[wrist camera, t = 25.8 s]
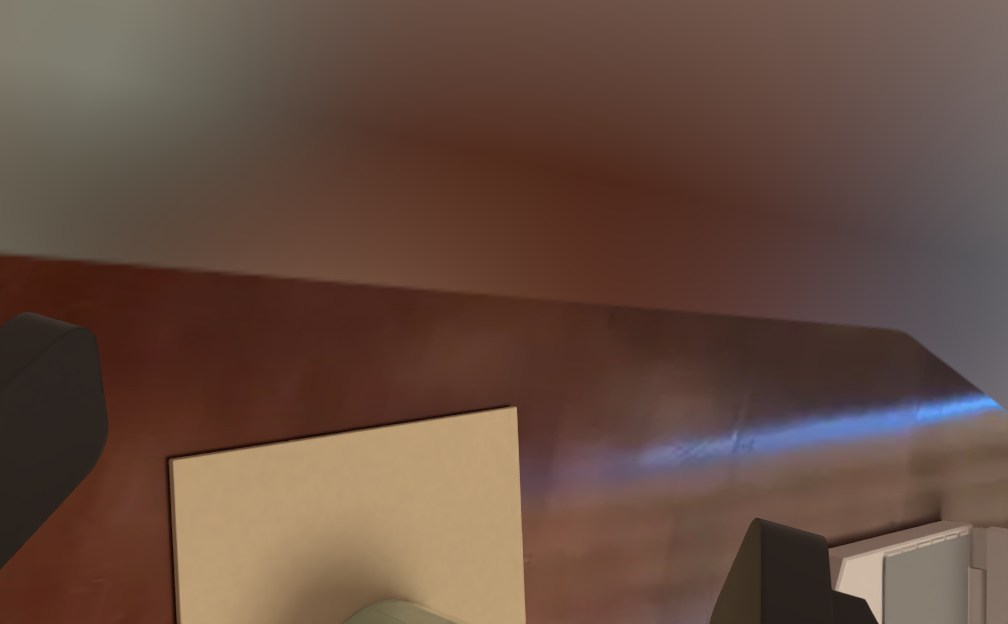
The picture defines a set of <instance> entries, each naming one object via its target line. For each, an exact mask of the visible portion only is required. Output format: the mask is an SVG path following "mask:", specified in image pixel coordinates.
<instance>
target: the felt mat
mask: <svg viewBox="0 0 1008 624" xmlns="http://www.w3.org/2000/svg"><path fill="white" fill-rule="evenodd" d="M169 474H170V494H171V514H172V535H173V555H174V575H175V596H176V616H177V624H344V623H345V622H346V621H347V620H348V619H349V618H350V617H351V616H352V615H354V614H355V613H357V612H358V611H360V610H361V609H363V608H365V607H367V606H368V605H371V604H373V603H376V602H379V601H383V600H388V599H401V600H406V601H410V602H413V603H415V604H420V605H424V606H427V607H429V608H432V609H434V610H437V611H439V612H442V613H445V614H447V615H450V616H452V617H455V618H457V619H460V620H462V621H465V622H468V623H470V624H526V620H525V596H524V572H523V548H522V524H521V499H520V475H519V451H518V427H517V407H505V408H498V409H492V410H485V411H479V412H472V413H466V414H459V415H453V416H446V417H440V418H433V419H427V420H420V421H414V422H407V423H401V424H394V425H388V426H381V427H375V428H368V429H362V430H355V431H349V432H342V433H336V434H329V435H323V436H316V437H310V438H303V439H297V440H290V441H284V442H277V443H271V444H264V445H258V446H251V447H245V448H238V449H232V450H225V451H219V452H212V453H206V454H199V455H193V456H186V457H180V458H173V459H169Z"/></svg>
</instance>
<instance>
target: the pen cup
mask: <svg viewBox="0 0 1008 624" xmlns="http://www.w3.org/2000/svg"><path fill="white" fill-rule="evenodd" d="M344 624H470V623H468V622H465V621H462V620H460V619H457V618H455V617H452V616H450V615H447V614H445V613H442V612H439V611H437V610H434V609H432V608H429V607H427V606H424V605H420V604H415V603H413V602H410V601H406V600H401V599H388V600H383V601H379V602H376V603H373V604H371V605H368V606H367V607H365V608H363V609H361V610H360V611H358V612H357V613H355V614H354V615H352V616H351V617H350V618H349V619H348V620H347V621H346V622H345V623H344Z"/></svg>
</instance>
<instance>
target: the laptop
mask: <svg viewBox="0 0 1008 624" xmlns="http://www.w3.org/2000/svg"><path fill="white" fill-rule="evenodd" d="M828 550H829V561H830V574H831V586H832V590H835V591H839V592H842V593H846V594H849V595H853V596H856V597H860V598H863V599H865V600H866V602H867V603H868V605H869V607H870V609H871V611H872V612H873V614H874V616H875V618H876V620H877V621H878V623H879V624H1008V529H1005V528H999V527H990V528H987V529H986V528H973V526H972V525H971V524H967V523H960V522H954V521H948V520H942V521H938V522H934V523H930V524H926V525H922V526H918V527H914V528H910V529H906V530H902V531H898V532H894V533H890V534H886V535H882V536H878V537H874V538H870V539H866V540H862V541H858V542H854V543H850V544H846V545H842V546H838V547H834V548H830V549H828Z"/></svg>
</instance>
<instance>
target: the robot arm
mask: <svg viewBox="0 0 1008 624" xmlns="http://www.w3.org/2000/svg"><path fill="white" fill-rule="evenodd" d="M107 433H108V418H107V411H106V404H105V397H104V390H103V382H102V375H101V368H100V361H99V354H98V347H97V342H96V338H95V336H94V334H93V333H92V332H91V331H90V330H89V329H87V328H84V327H81V326H77V325H74V324H70V323H67V322H63V321H59V320H56V319H52V318H49V317H45V316H41V315H38V314H34V313H28V312H26V313H21V314H19V315H16V316H15V317H13V318H12V319H10V320H9V321H8V322H6V323H5V324H4V325H2V326H1V327H0V569H1V568H2V567H3V566H4V565H5V564H6V563H7V562H8V561H9V560H10V559H11V557H12V556H13V555H14V554H15V553H16V552H17V551H18V550H19V549H20V548H21V547H22V546H23V544H24V543H25V542H26V541H27V540H28V539H29V538H30V537H31V536H32V535H33V534H34V533H35V531H36V530H37V529H38V528H39V527H40V526H41V525H42V524H43V523H44V522H45V521H46V519H47V518H48V517H49V516H50V515H51V514H52V513H53V512H54V511H55V510H56V509H57V508H58V506H59V505H60V504H61V503H62V502H63V501H64V500H65V499H66V498H67V497H68V496H69V495H70V493H71V492H72V491H73V490H74V489H75V488H76V487H77V486H78V485H79V484H80V483H81V482H82V480H83V479H84V478H85V477H86V476H87V475H88V474H89V473H90V471H91V470H92V469H93V468H94V466H95V465H96V463H97V461H98V459H99V458H100V456H101V453H102V451H103V448H104V446H105V442H106V439H107ZM710 624H879V623H878V621H877V620H876V618H875V616H874V614H873V612H872V611H871V609H870V607H869V605H868V603H867V602H866V600H865V599H863V598H860V597H856V596H853V595H849V594H846V593H842V592H839V591H835V590H832V586H831V574H830V561H829V550H828V544H827V541H826V539H825V538H824V537H823V536H820V535H817V534H813V533H810V532H806V531H803V530H799V529H795V528H792V527H788V526H785V525H781V524H778V523H774V522H770V521H767V520H763V519H760V518H755V519H754V520H753V521H752V523H751V525H750V526H749V528H748V531H747V533H746V535H745V537H744V540H743V542H742V544H741V547H740V549H739V551H738V553H737V556H736V558H735V560H734V563H733V565H732V567H731V570H730V572H729V574H728V576H727V579H726V581H725V583H724V586H723V588H722V590H721V592H720V595H719V597H718V599H717V602H716V604H715V607H714V610H713V613H712V616H711V620H710Z"/></svg>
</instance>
